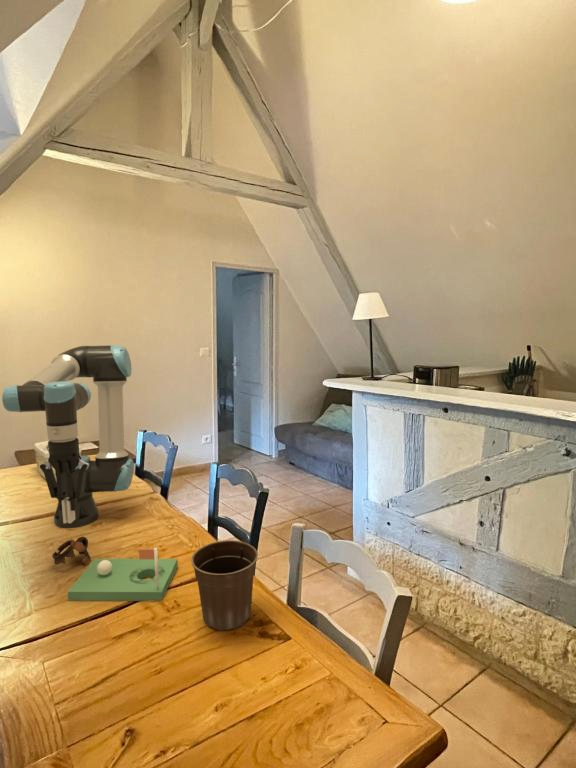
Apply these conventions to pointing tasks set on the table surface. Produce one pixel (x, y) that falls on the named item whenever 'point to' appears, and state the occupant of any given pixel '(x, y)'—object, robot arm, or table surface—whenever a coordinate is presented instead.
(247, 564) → the plant pot
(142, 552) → the flag pin
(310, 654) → the table surface
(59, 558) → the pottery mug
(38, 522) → the table surface
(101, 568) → the ball
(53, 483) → the robot arm
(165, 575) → the green
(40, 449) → the storage basket
